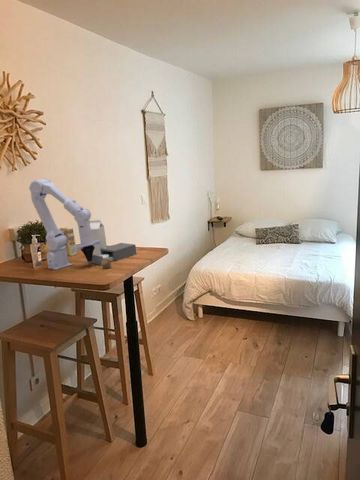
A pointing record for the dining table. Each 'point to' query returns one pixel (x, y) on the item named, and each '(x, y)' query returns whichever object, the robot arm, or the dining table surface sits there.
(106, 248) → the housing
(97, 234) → the milk carton
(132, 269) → the dining table surface
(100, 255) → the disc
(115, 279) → the dining table surface
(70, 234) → the candy box
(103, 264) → the brown cylinder
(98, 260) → the grey drawer
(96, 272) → the dining table surface
